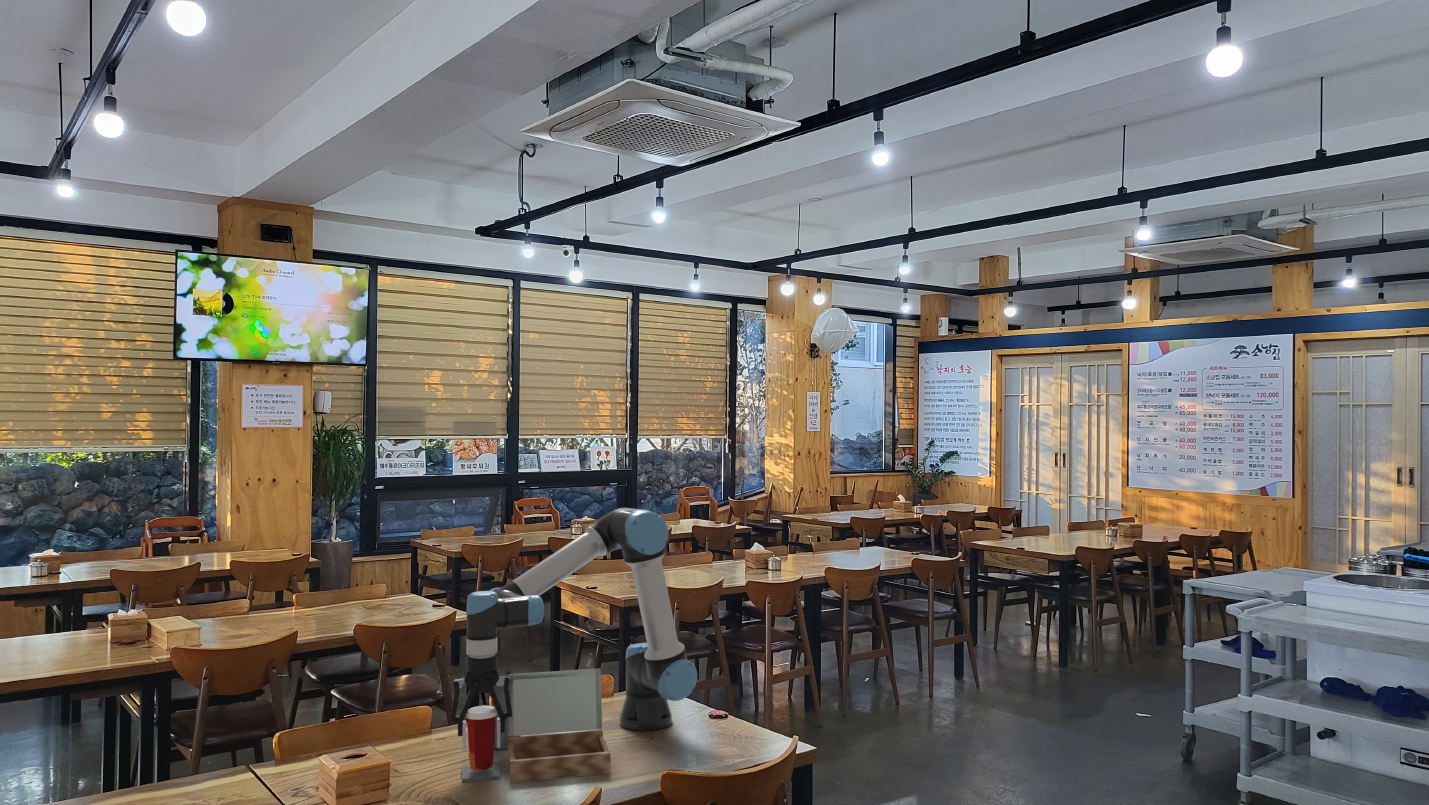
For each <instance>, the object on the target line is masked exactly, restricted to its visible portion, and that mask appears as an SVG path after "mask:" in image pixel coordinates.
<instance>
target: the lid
mask: <svg viewBox="0 0 1429 805" xmlns="http://www.w3.org/2000/svg"><path fill="white" fill-rule="evenodd" d="M601 673H602V668H588V669H585V668H584V669H573V670H559V671H557V670H556V671H543V672H542V671H540V672H527V673H526V672H524V673H511V674H508V676H509V678H510V681H509V686H508V688H509V695H510V701H511V708H512V716H511V717H508V736H520V735H521V736H534V735H546V734H558V733H571V732H583V731H595V730H602V729H603V714H602V713H603V712H602V711H603V710H602V709H603V707H602V706H603V704H602V674H601Z"/></svg>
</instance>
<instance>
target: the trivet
mask: <svg viewBox="0 0 1429 805" xmlns="http://www.w3.org/2000/svg"><path fill="white" fill-rule="evenodd" d="M500 770H501V769H500V763H499V762H497V763H494V762H493V766H492V767H491V768H489V769H486V770H473V769H471V768H470V765H462V768H461V773H462V774H461V783H470V782H481V781H493V780H500V779H501V773H500V772H501V771H500Z"/></svg>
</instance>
